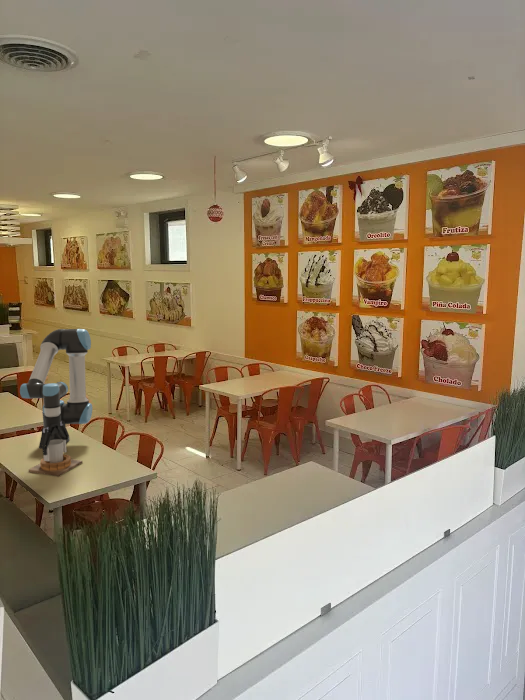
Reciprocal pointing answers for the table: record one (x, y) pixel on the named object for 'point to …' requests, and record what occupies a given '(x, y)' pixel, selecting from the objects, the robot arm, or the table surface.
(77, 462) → the collar board
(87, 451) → the table surface
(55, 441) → the cup
